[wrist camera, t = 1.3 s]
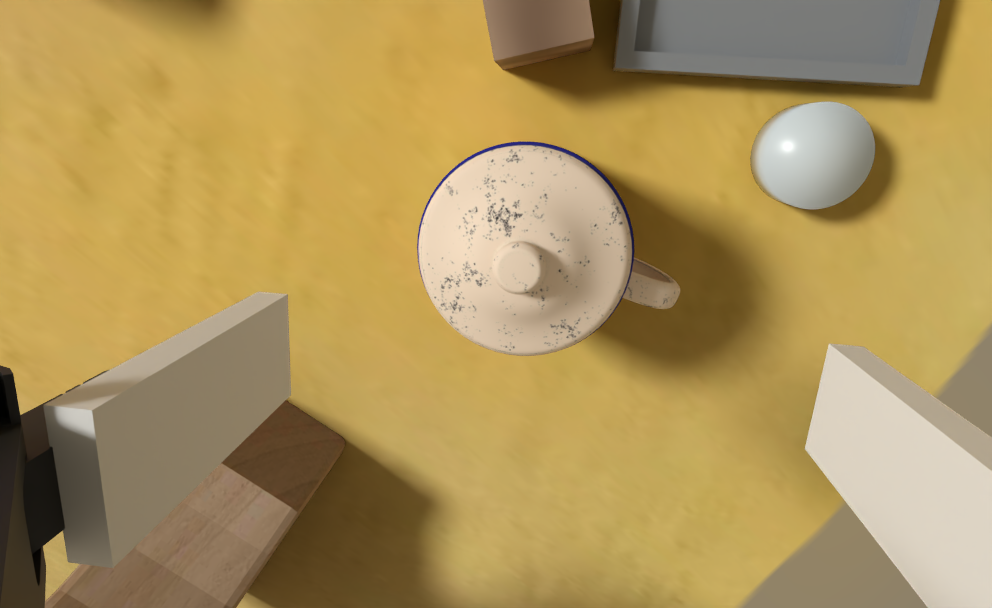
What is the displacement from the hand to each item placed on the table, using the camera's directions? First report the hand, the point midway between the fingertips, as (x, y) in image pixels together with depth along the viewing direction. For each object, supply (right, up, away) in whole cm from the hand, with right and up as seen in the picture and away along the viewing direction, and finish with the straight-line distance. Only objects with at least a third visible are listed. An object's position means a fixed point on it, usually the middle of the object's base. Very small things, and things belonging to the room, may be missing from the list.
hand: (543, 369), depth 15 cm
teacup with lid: (+2, +6, +19) cm, 20 cm away
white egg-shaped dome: (+14, +9, +16) cm, 24 cm away
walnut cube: (+1, +16, +16) cm, 23 cm away
